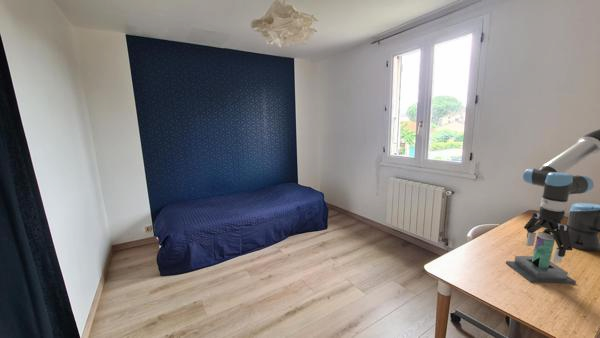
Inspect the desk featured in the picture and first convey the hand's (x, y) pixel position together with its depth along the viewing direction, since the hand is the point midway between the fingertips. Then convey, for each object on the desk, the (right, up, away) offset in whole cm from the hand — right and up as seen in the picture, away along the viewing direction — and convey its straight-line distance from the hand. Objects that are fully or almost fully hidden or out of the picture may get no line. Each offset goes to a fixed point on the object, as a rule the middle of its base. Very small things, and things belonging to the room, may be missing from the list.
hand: (542, 253), depth 108 cm
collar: (0, -9, +2) cm, 10 cm away
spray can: (0, -9, +2) cm, 9 cm away
